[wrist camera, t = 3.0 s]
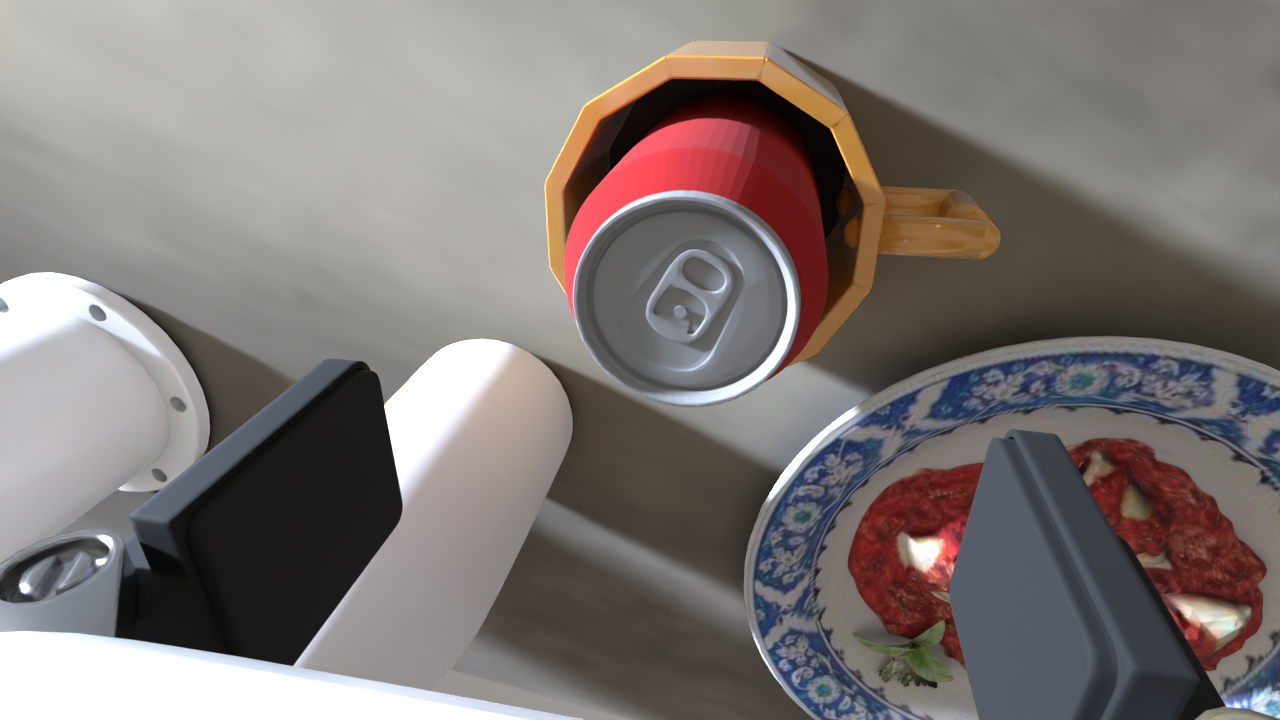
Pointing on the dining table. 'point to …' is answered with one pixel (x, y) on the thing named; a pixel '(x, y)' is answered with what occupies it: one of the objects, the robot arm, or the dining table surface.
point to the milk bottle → (450, 512)
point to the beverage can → (701, 255)
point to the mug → (864, 206)
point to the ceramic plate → (943, 495)
